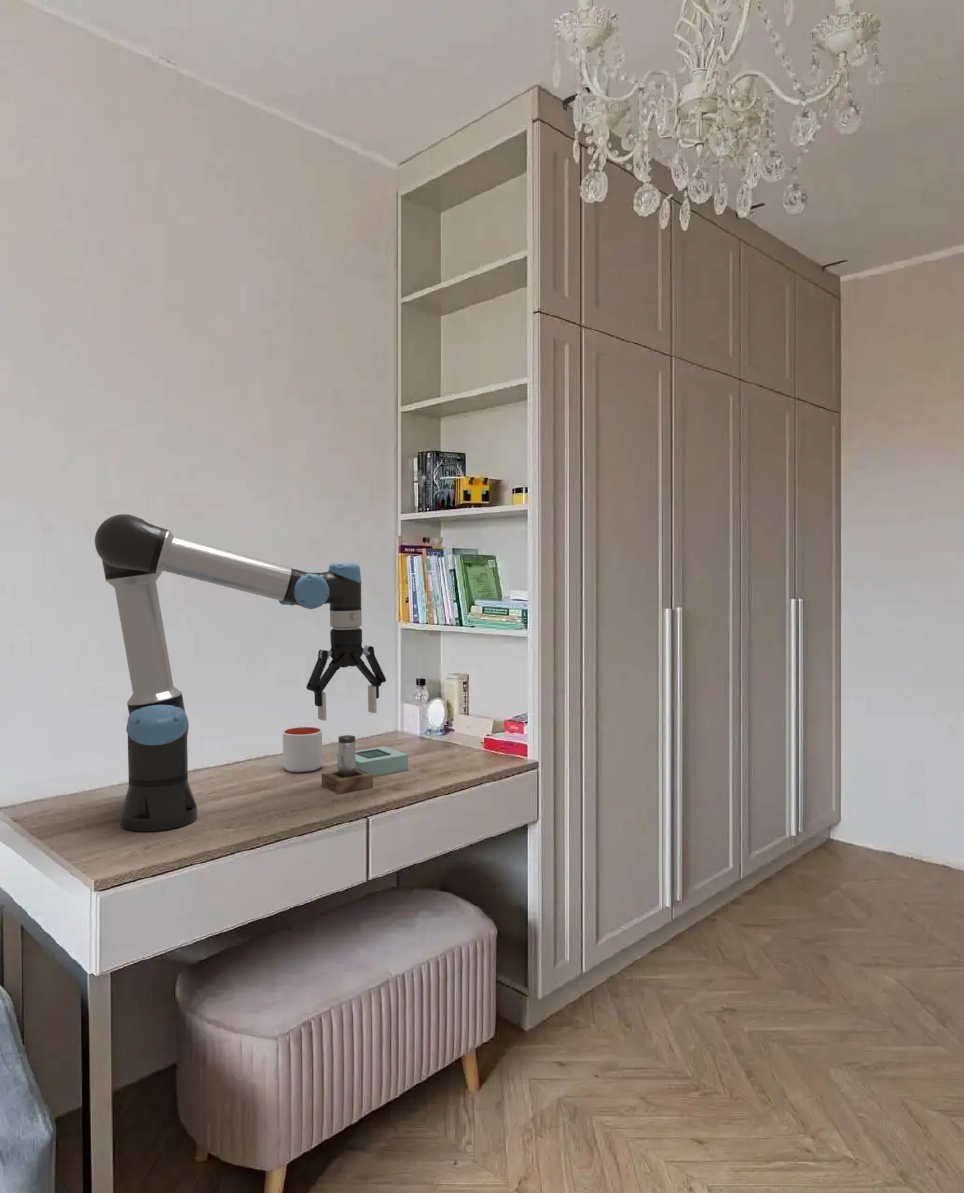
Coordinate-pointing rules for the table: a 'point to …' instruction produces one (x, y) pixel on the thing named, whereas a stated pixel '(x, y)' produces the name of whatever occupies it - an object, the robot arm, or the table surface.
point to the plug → (347, 756)
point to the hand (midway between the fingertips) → (347, 716)
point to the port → (380, 760)
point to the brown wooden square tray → (347, 781)
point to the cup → (302, 749)
